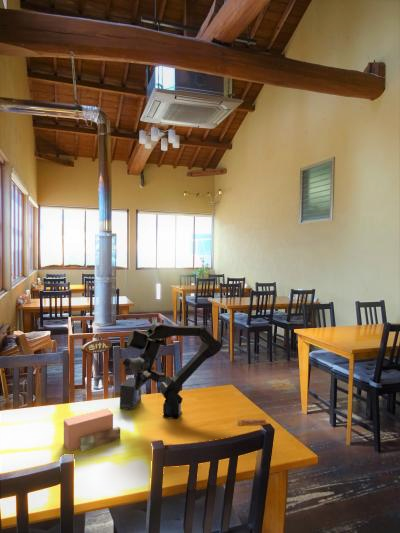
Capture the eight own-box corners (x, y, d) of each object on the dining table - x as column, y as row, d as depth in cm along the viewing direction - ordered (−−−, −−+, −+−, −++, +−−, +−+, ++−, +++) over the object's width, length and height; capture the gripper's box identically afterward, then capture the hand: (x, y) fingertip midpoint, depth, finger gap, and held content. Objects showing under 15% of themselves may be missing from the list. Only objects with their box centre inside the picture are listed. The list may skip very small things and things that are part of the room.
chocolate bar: (236, 423, 147) (236, 417, 147) (264, 422, 149) (265, 416, 149) (237, 426, 145) (237, 420, 145) (266, 425, 146) (267, 419, 146)
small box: (133, 410, 157) (133, 386, 156) (119, 408, 158) (119, 385, 158) (142, 400, 167) (142, 378, 167) (128, 399, 169) (128, 376, 168)
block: (107, 431, 138) (107, 408, 138) (112, 437, 134) (113, 413, 134) (63, 444, 129) (63, 419, 129) (68, 451, 125) (68, 425, 124)
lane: (107, 426, 142) (107, 416, 142) (120, 439, 133) (120, 428, 133) (71, 437, 134) (71, 426, 134) (81, 451, 125) (81, 439, 124)
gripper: (121, 343, 146) (106, 380, 144) (157, 361, 137) (142, 402, 135) (137, 344, 155) (124, 380, 154) (172, 362, 146) (158, 399, 145)
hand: (136, 390), depth 147 cm, fingers closed
